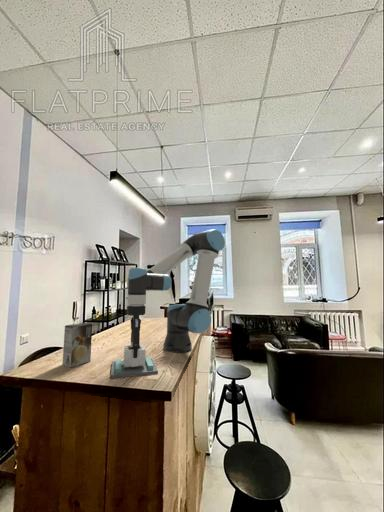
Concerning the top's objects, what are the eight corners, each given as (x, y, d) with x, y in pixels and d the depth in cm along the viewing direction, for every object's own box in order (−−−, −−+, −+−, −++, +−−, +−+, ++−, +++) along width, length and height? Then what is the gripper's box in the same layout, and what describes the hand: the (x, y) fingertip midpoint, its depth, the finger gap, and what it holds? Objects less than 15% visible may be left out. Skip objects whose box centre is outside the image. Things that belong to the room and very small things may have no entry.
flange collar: (123, 360, 96) (124, 345, 96) (143, 359, 98) (143, 344, 99) (123, 367, 88) (124, 350, 89) (145, 365, 90) (145, 348, 91)
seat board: (152, 360, 103) (153, 337, 104) (158, 373, 88) (158, 346, 89) (112, 363, 98) (113, 339, 99) (110, 378, 83) (112, 349, 84)
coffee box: (82, 359, 104) (84, 322, 106) (90, 361, 100) (93, 323, 102) (61, 364, 96) (64, 325, 98) (70, 367, 93) (73, 326, 95)
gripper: (126, 303, 105) (123, 355, 102) (127, 307, 85) (124, 372, 82) (143, 303, 107) (141, 354, 104) (148, 307, 87) (146, 370, 84)
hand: (134, 362), depth 93 cm, fingers closed on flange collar, 8 cm apart
